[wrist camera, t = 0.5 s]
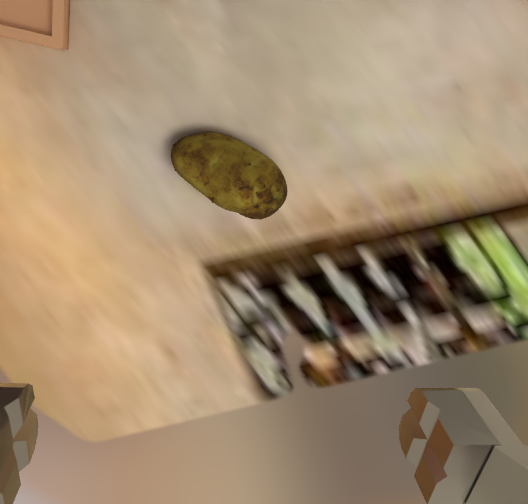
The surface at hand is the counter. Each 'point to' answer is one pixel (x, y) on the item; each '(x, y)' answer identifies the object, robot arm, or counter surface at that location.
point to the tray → (36, 21)
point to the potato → (230, 174)
